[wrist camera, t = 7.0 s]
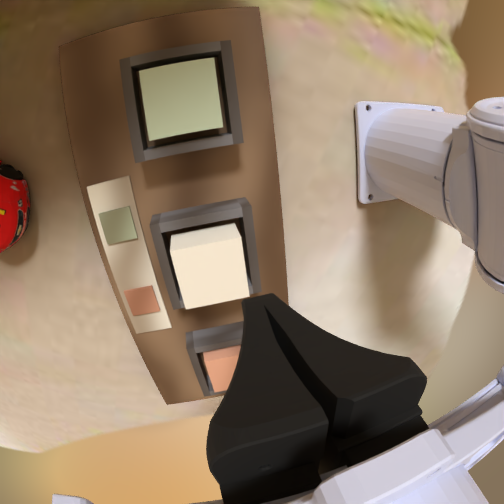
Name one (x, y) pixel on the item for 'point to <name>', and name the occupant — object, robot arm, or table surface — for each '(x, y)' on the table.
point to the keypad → (176, 180)
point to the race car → (12, 206)
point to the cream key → (209, 265)
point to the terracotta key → (221, 366)
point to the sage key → (181, 98)
